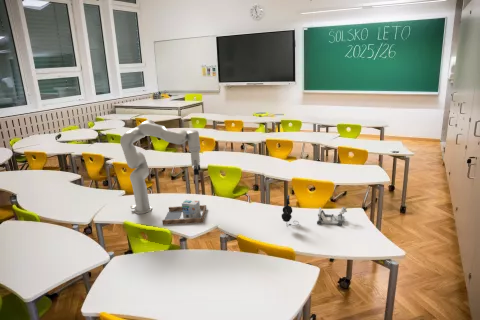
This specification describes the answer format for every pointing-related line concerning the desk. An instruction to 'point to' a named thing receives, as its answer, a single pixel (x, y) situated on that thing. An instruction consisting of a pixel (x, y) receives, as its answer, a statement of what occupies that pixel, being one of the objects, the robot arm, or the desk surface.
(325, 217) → the toy car
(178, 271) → the desk surface
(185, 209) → the light bulb box
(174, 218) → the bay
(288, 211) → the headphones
